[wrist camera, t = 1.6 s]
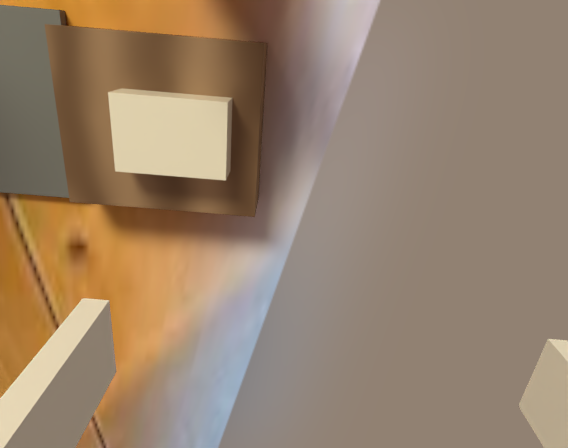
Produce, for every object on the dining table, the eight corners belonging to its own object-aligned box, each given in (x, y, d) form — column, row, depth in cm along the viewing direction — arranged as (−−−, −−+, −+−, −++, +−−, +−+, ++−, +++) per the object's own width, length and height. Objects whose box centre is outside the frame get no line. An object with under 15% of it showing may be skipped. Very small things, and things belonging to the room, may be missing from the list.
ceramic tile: (127, 162, 32) (115, 171, 30) (121, 88, 30) (107, 92, 27) (230, 170, 32) (225, 180, 30) (232, 97, 30) (227, 102, 27)
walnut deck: (91, 185, 37) (69, 202, 33) (73, 26, 32) (44, 24, 28) (258, 199, 37) (254, 216, 33) (267, 43, 32) (263, 43, 28)
